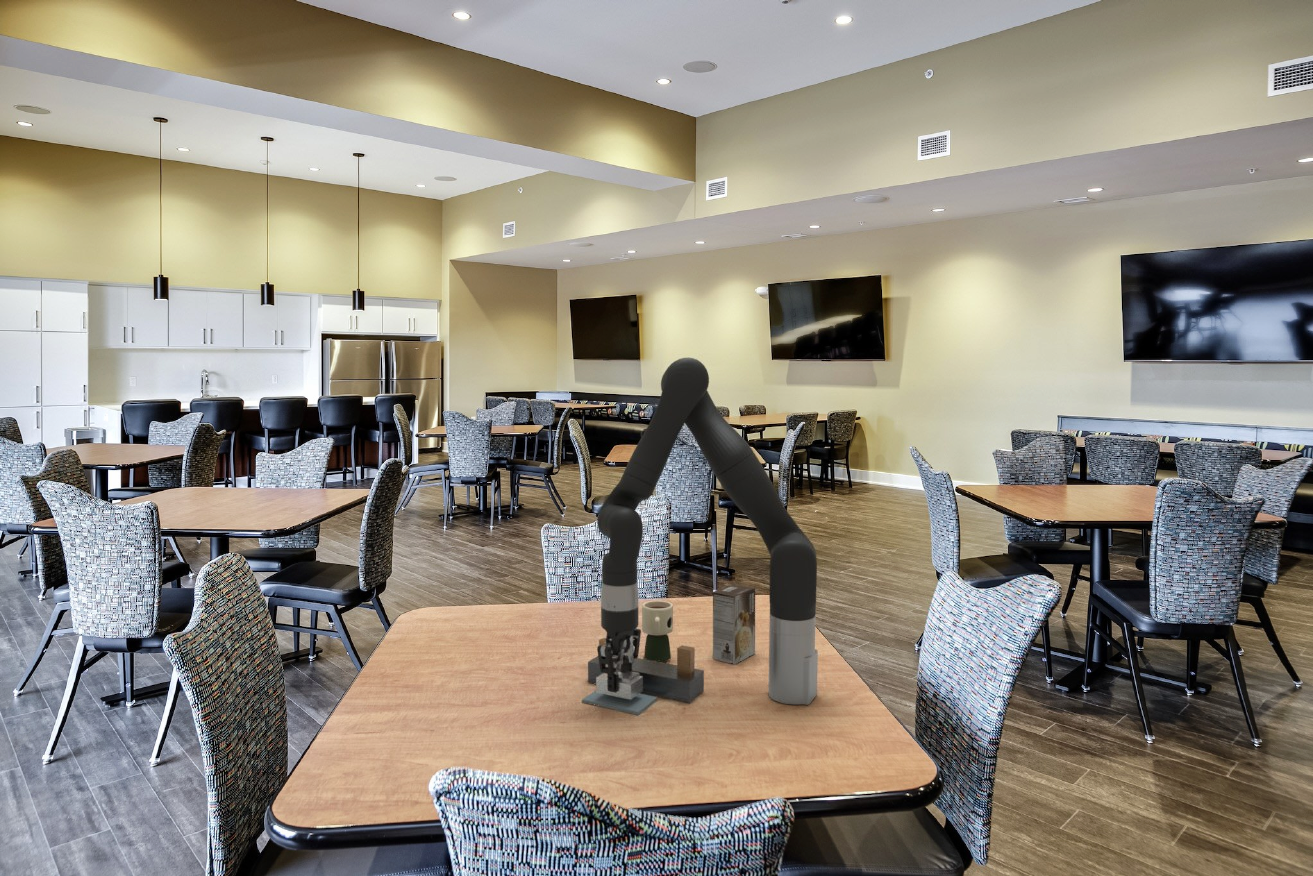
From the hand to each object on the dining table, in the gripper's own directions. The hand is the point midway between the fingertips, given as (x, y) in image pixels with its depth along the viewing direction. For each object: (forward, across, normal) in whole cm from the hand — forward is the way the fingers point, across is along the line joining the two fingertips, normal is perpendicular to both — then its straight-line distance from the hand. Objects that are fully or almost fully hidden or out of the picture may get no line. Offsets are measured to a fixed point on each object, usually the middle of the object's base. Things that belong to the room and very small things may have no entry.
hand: (619, 686), depth 162 cm
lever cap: (+1, 0, 0) cm, 1 cm away
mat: (+3, 0, 0) cm, 3 cm away
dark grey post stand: (+3, +9, -1) cm, 10 cm away
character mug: (+3, +24, +4) cm, 25 cm away
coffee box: (+3, +34, -11) cm, 36 cm away
